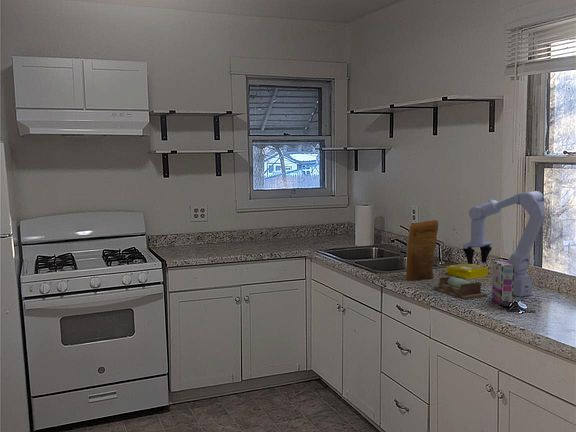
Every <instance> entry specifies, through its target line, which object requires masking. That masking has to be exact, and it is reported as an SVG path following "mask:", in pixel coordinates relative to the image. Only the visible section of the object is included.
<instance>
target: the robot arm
mask: <svg viewBox="0 0 576 432" xmlns="http://www.w3.org/2000/svg"><path fill="white" fill-rule="evenodd" d="M545 203H546V198H545V196H544V194H543V193H542V192H541V191H539V190H534V191H524V192H521V193H517V194H514V195H513V194H512V195H511V196H509V197H506V198H504V199H501V200H499V201H498V200H495V199H494V200H493V199H488V202H486V203H479V205H478V206H472V207H471V208H470V209H469V211H468V216H469V218H470V220H471V223H470V242H466V243H462V251H463V252H464V254H465V256H466V261H467V263H468V264H473V262H474V254H475V251H476V250H475V249H474V248H480V255H481V256H480V260H481V263H483V264H484V263H485V264H486V263H487V259H488V257H489V254H490V252H491V251H492V250H493V249H492V247H493V246H492V245H493V242H492V241H485V229H486V228H485V226H486V225H485V222H486V218H487V217H490V216H492V215H496V214H498V213H501V210H502V209H503V208H506V207H509V206H513V205H520V206H521V207H522V208H523V209H524V210H525V211H526V212H527V214H528V216H529V217H528V221H527V222H526V225H525V227H524V230H523V233H522V235H521V237H520V240H519V242H518V244H517V245H516V246H517V247H516V248H515V250H514V251H513V252H512V254H511V255H510V257H509V258H508V259H507V260H505V261H506V262H508V263H510V264H512V265H514V283H513V296H515V297H518V298H519V297H520V298H521V297H526V296H533V295H534V293H533V279H532V277H531V276H530V275H528V273H527V269H529V268H530V259H531V255H530V253H531V250H532V248H533V245H534V243H535V241H536V239H537V236H538V234H539V231H540V229H541V227H542V225H543V222H544V221H545V218H546V210H545V209H546V207H545V206H546V205H545Z"/></svg>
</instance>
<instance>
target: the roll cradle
mask: <svg viewBox="0 0 576 432" xmlns="http://www.w3.org/2000/svg"><path fill="white" fill-rule="evenodd" d="M450 277H456V278H459V279H460V277H459V276H452V275H449V276H443V277H439V286H433V290H435V291H437V292H441V293H444V294H447V295H450V296H452V297H455V298H459V299H461V300H470V299H478V298H484V297H485V298H487V297H488V293H485V292H482V283H481V282H479V281H477V282H471V283H468V284H461V289H459V288H456V287H453V286H449V285H448V284H447V282H448V279H449V278H450Z"/></svg>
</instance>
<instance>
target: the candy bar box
mask: <svg viewBox="0 0 576 432" xmlns="http://www.w3.org/2000/svg"><path fill="white" fill-rule="evenodd" d="M506 261H507V260H493V261H492V262H493V264H492V285H491V286H492V287H491V288H492V289H491V301H493V302H494V303H495V304H497V305H498V306H500V305H501V303H502V301H508V302H513V301H514V295H513V283H514V265H512V264H510V263H508V262H506ZM513 303H514V302H513Z"/></svg>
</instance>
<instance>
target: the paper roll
mask: <svg viewBox="0 0 576 432" xmlns="http://www.w3.org/2000/svg"><path fill="white" fill-rule="evenodd" d="M449 277H450V276H449ZM468 283H472V281H469V280H467V279H466V280H465V279H464V278H460V277H459V278H456V277H450V278H449V279H448V282H447V284H448V285H449V286H453V287H456V288H459V289H461V284H468Z"/></svg>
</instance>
